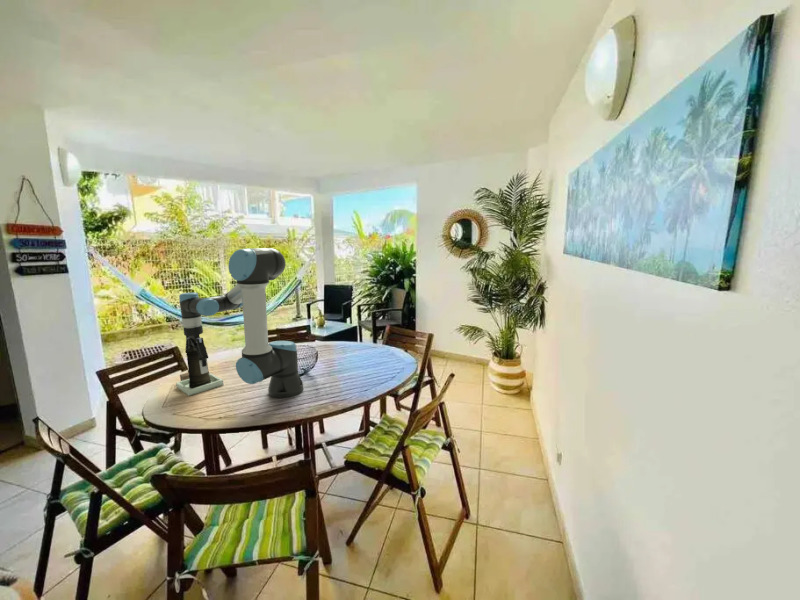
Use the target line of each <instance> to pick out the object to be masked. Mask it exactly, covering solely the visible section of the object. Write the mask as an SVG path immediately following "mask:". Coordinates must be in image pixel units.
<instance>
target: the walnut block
mask: <svg viewBox="0 0 800 600" xmlns="http://www.w3.org/2000/svg"><path fill="white" fill-rule="evenodd" d="M179 378H180V381H183V380H187V379H189V372H188V371H187V372H186V373H181V374H179Z"/></svg>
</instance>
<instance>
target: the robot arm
mask: <svg viewBox="0 0 800 600" xmlns="http://www.w3.org/2000/svg"><path fill="white" fill-rule="evenodd" d="M285 259H286V258H285V256H284V254H283V253H281V251H279V250H278V249H275V248H272V247H266V248H265V247H262V248H259V247H257V248H256V247H255V248H254V247H253V248H252V247H251V248H250V247H249V248H240V249H237V250H235V251H234V252H232V254H231V255H230V257H229V260H228V272H229V274H230V276H231V278H233V279H234V280H235V281H236V285H235V286H234V287H232V288H231V289H230V290H229V291H228V292H226V293H225V294H220V295H215V296H208V297H199V293H198V292H196V291H195V292H184V293H180V294H179V295H178V297H179V299H178V300H179V309H180V314H181V322H182V323H181V324H182V327H183V334H184V336H185V351H186V350H187V349H189V348H192V347H194V348H196V351H197V353H198V355H199V358H200V359H199V362H200V369H201V374H203V373H207V372H208V371H209V367H208V368H207V364H208V359H209V355H208V351H207V347H206V344H205V343H204V338H203V337H200V335H202V334H203V333H204V329H203V321H202V320H203V317H202V316H205V317H210V316H211V317H212V316H214V315H216V314H218V313H221V312H227V311H231V310H237V309H240V308H242V315H243V328H244V330H243V331H244V345H245V346H244V347H243V348H242V349H241V357H240V358H238V359H237V360H236V362H235V371H236V372H237V375H238V376H239V378H240V379H241V380H242V381H243V382H244V383H246V384H249V385H255V384H257V383H261V382H263V381H264V380H267V379H269V378H270V381H269V385H268V388H267V391H268V392H267V393H268V396H269V397H271V398H275V399H286V398H291V397H294V396H297V395H299V394H301V393H302V391H304V383H303V381H302V378H301V375H300V373H299V362H298V350H297V344H296V343H295V342H294V341H292V340H291V341H290V340H275V341H271V342H269V332H268V315H267V298H266V287H267V286H268V285H269V283H270V281H274V280H276V279H277V278H278V277H280V275H282V273H283V272H284V271H285V269H286V264H287V263H286V260H285ZM205 347H206V348H205ZM203 356H204V357H203ZM206 359H207V360H206Z"/></svg>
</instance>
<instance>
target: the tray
mask: <svg viewBox="0 0 800 600" xmlns="http://www.w3.org/2000/svg"><path fill="white" fill-rule="evenodd" d="M209 377H210V378H211V379H210V380H211V383H209V384H206V385H203V386H199V387H196V388H193V389H192V388H190V387H189V384H190V383H189V381H190V379H187V380H183V381H181V380H180V381H177V382H175V383H176V388H177V390H179V391H181V392H182V393H184V394H185V395H186V396H188V397H190V396H193V395H196V394H200V393H202V392H205V391H209V390H212V389H214V388H218V387H221V386H224V380H223V379H222V378H220V377H218V376H217V375H215V374H213V373H211V372H209Z"/></svg>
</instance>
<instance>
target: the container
mask: <svg viewBox="0 0 800 600" xmlns="http://www.w3.org/2000/svg"><path fill="white" fill-rule="evenodd" d="M205 348H206V349H207V347H206V346H205ZM185 354H186V360H187V368H188V370H189V379H190V381H189V383H190V384H189V387H190V388H192V389H193V388H196V387H199V386H203V385H206V384H209V383H211V380H210V379H211V378H210V377H209V373H210V371H209V370H208V372H207V373H203V374H201V369H200V362H199V359H200V358H199V355H198V353H197V351H196V348H194V347H192V348H189V349H187V350H186V349H185ZM203 357H204V356H203ZM206 360H207V361H208V358H207V359H206ZM207 368H208V369H209V365H208V363H207ZM188 370H187V371H188Z"/></svg>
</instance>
